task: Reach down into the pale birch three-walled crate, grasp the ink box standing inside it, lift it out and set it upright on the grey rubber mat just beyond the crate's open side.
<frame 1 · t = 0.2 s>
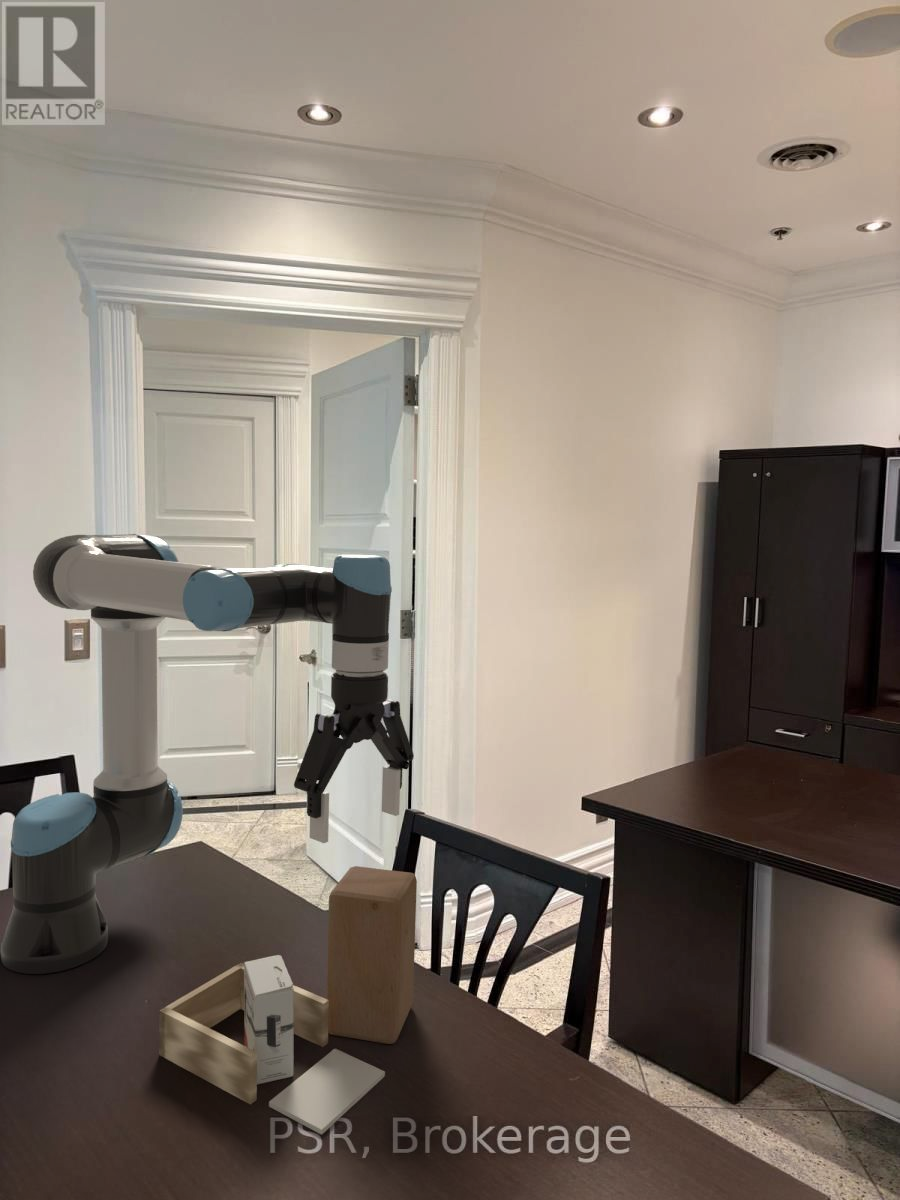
hand: (356, 826, 113), 27 cm above the table, fingers open, 13 cm apart
crate: (244, 1049, 109), on the table
mat: (328, 1090, 101), on the table
wooden block: (370, 1022, 116), on the table
ink box: (267, 1062, 107), on the table
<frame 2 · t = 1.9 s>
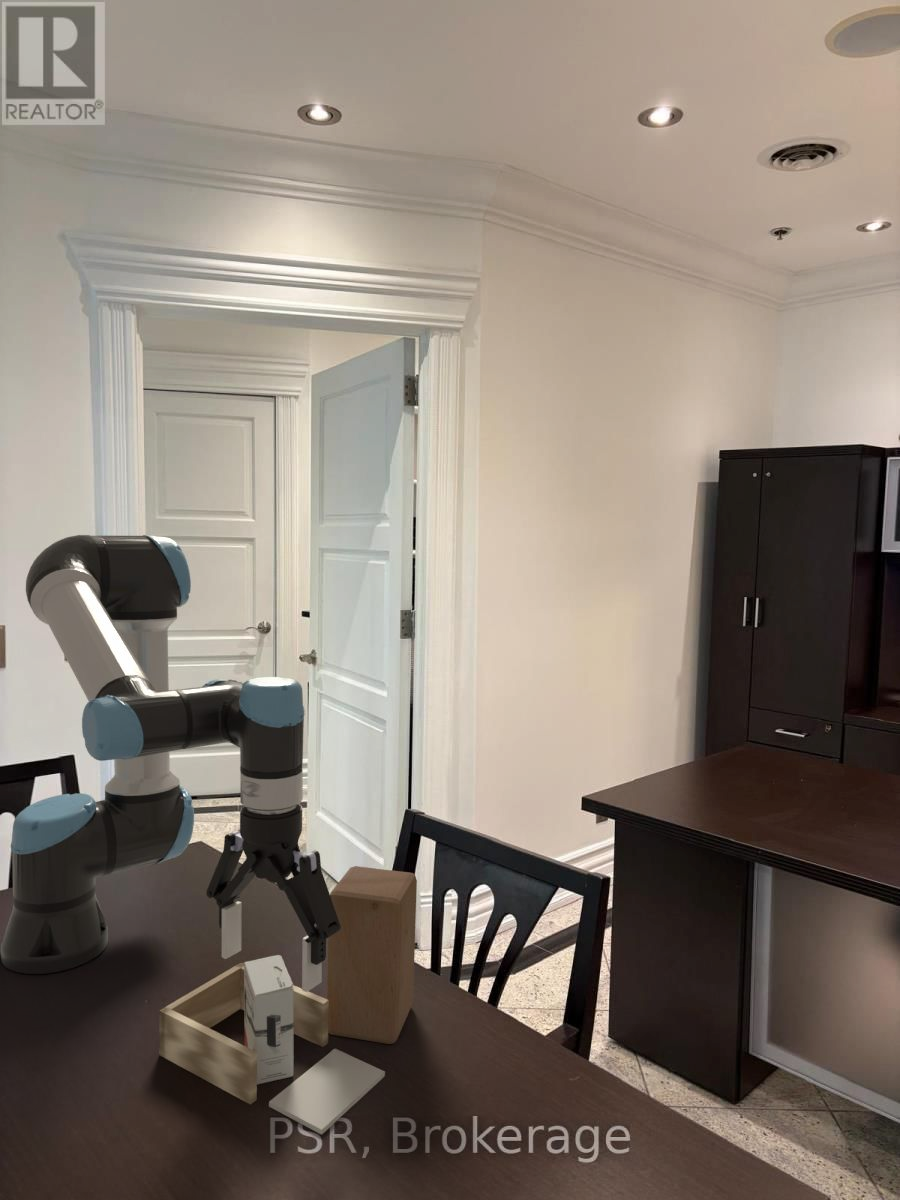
hand: (270, 969, 105), 12 cm above the table, fingers open, 13 cm apart
nothing on the table moved.
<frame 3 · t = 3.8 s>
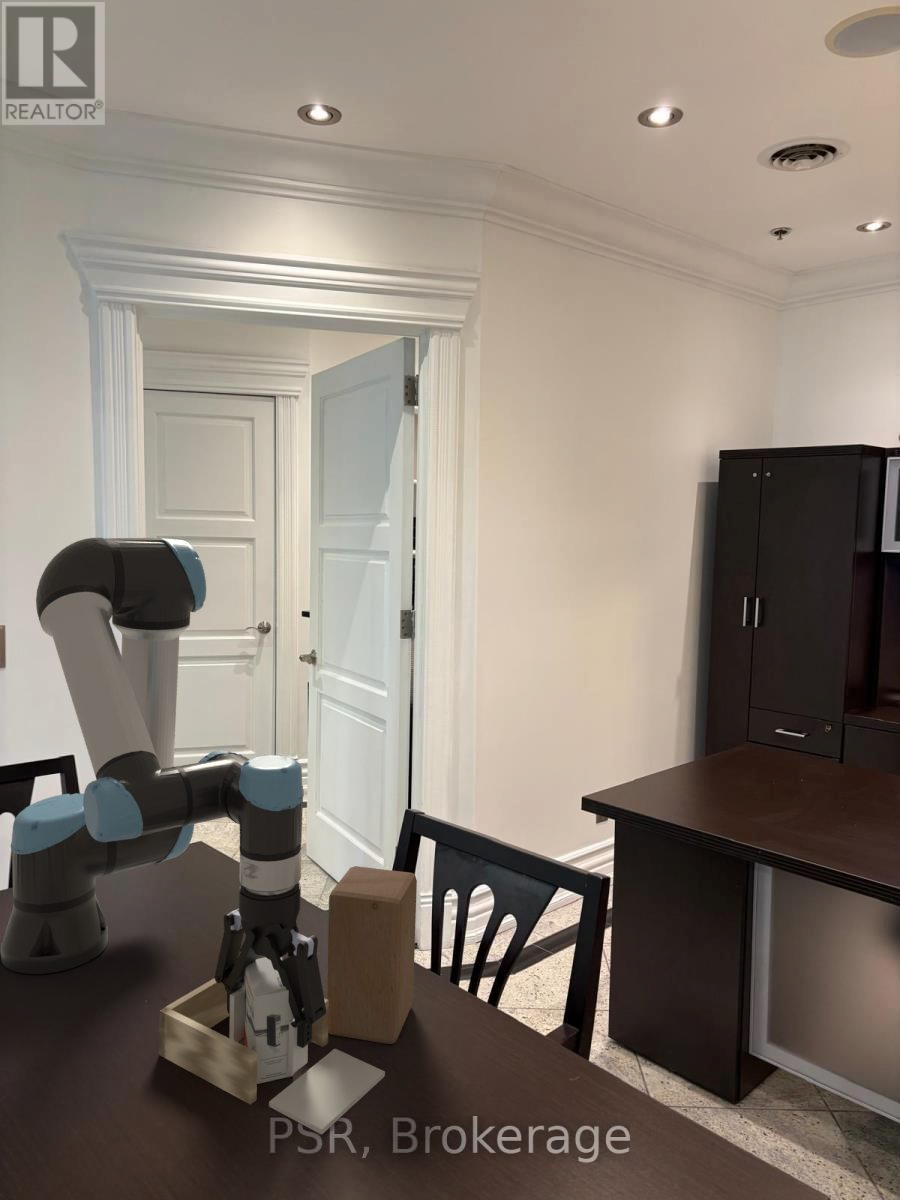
hand: (267, 1052, 106), 1 cm above the table, fingers closed on ink box, 9 cm apart
ink box: (267, 1061, 107), on the table, touching gripper
everything else where it was.
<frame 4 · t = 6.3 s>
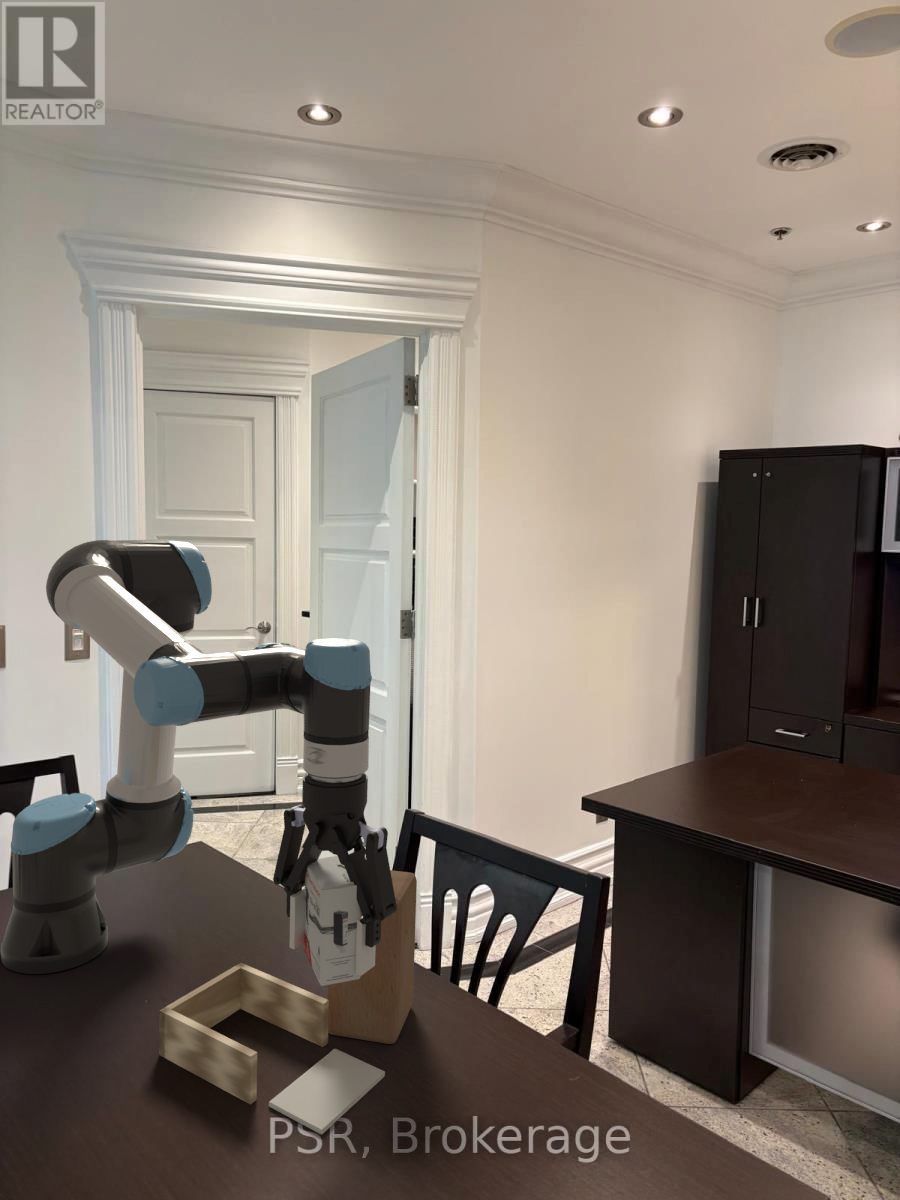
hand: (331, 956, 100), 17 cm above the table, fingers closed on ink box, 9 cm apart
ink box: (331, 966, 100), point 16 cm above the table, touching gripper
everything else where it was.
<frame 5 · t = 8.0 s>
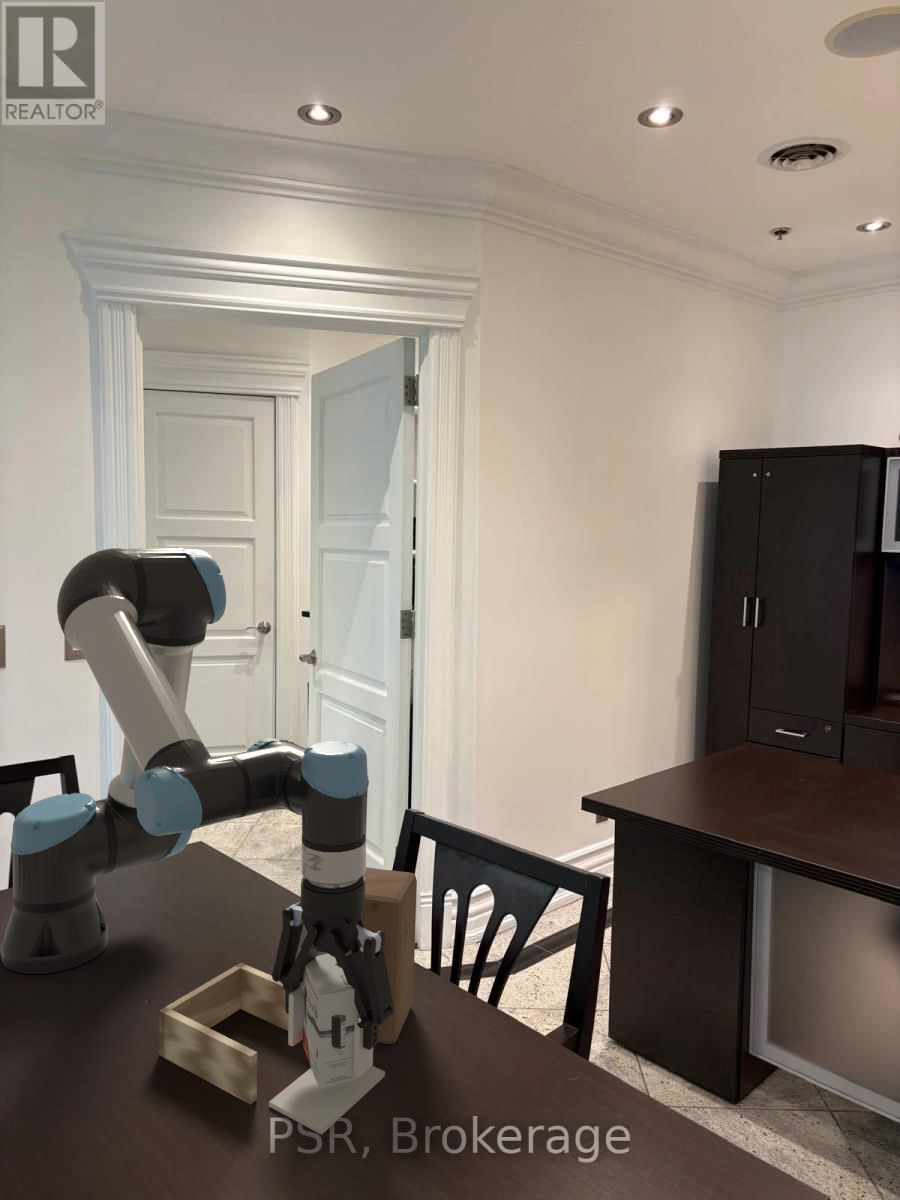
hand: (329, 1054, 101), 5 cm above the table, fingers closed on ink box, 9 cm apart
ink box: (329, 1064, 101), point 3 cm above the table, touching gripper
everything else where it was.
when the fingers open (3 cm above the table, at t = 9.2 s): ink box drops 2 cm, resting on mat.
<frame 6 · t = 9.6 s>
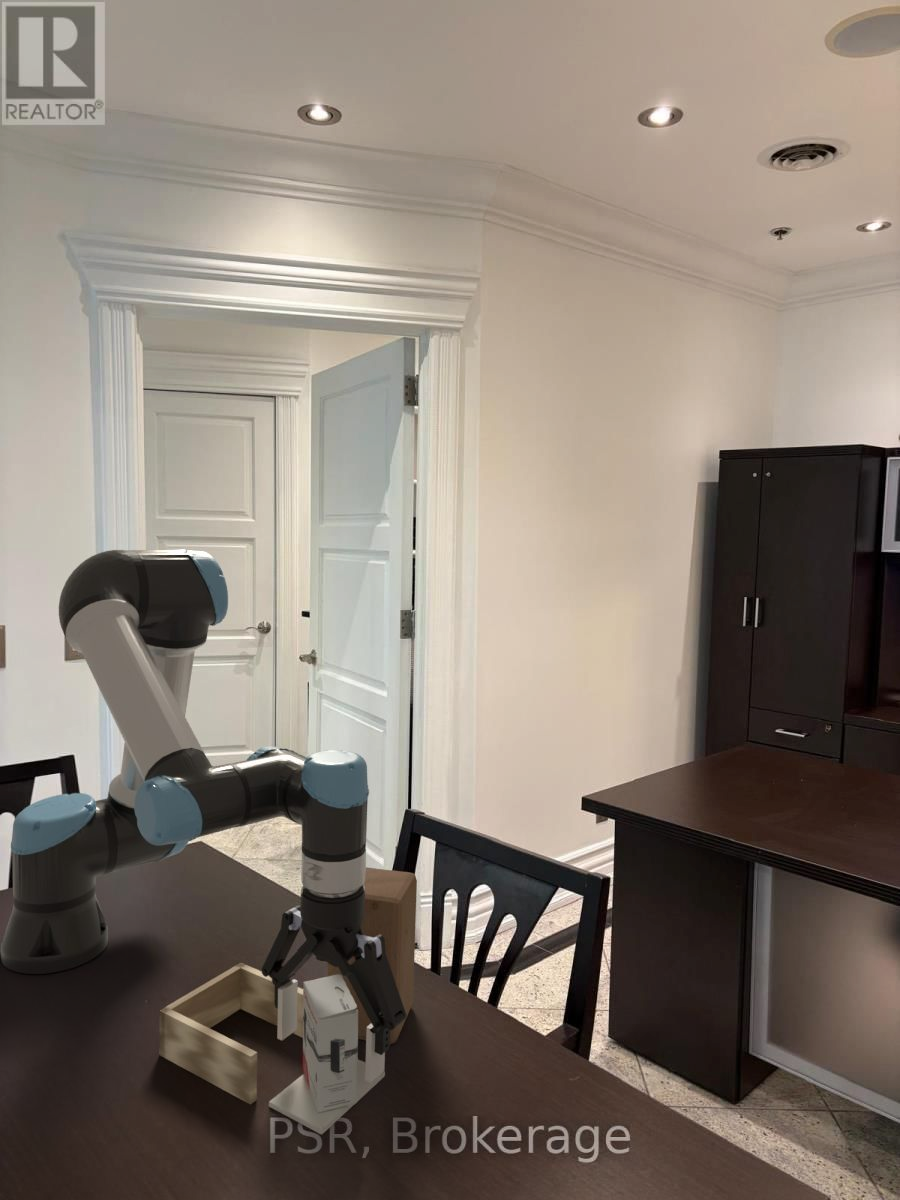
hand: (329, 1054, 101), 5 cm above the table, fingers open, 13 cm apart
ink box: (328, 1087, 101), resting on mat
everything else where it was.
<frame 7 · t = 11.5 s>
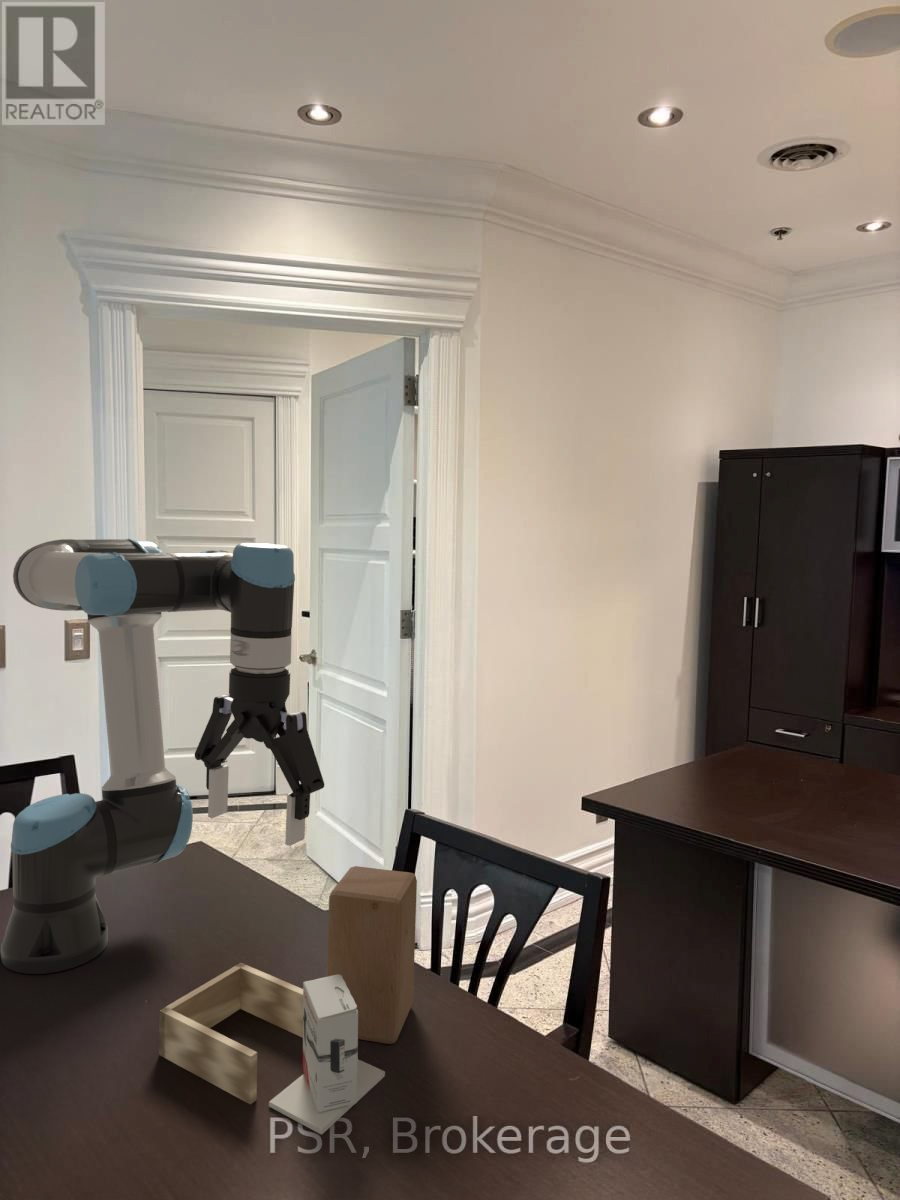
hand: (255, 828, 108), 29 cm above the table, fingers open, 13 cm apart
nothing on the table moved.
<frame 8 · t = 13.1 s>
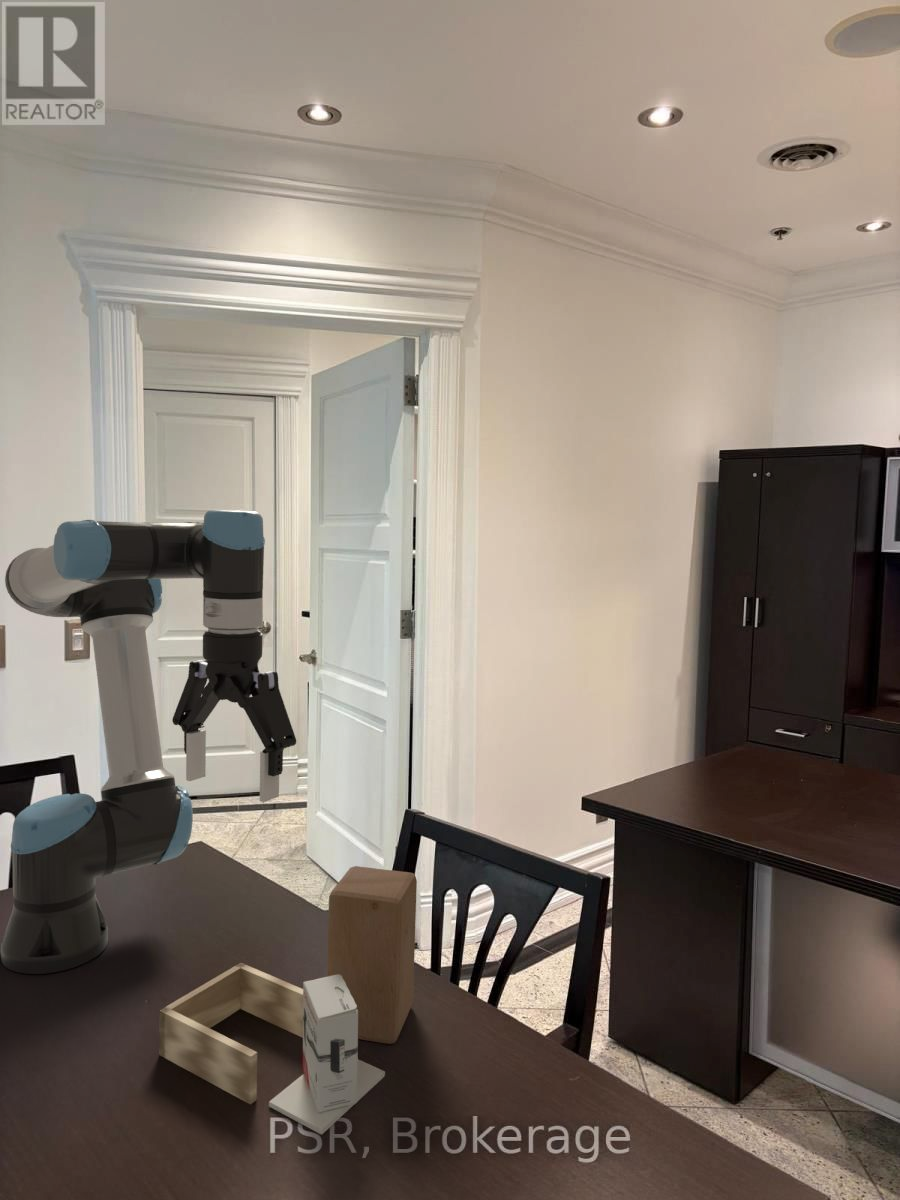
hand: (231, 788, 111), 33 cm above the table, fingers open, 13 cm apart
nothing on the table moved.
at the end: ink box inside the target area on the mat (0.0 cm from its centre), point 0.4 cm above the mat's base; ink box tilted 0°; the gripper is holding nothing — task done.
